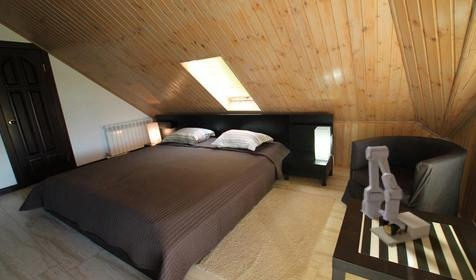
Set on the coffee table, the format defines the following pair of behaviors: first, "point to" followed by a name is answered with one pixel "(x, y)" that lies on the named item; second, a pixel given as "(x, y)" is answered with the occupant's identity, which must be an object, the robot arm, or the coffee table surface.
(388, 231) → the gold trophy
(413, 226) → the housing
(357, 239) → the coffee table surface
